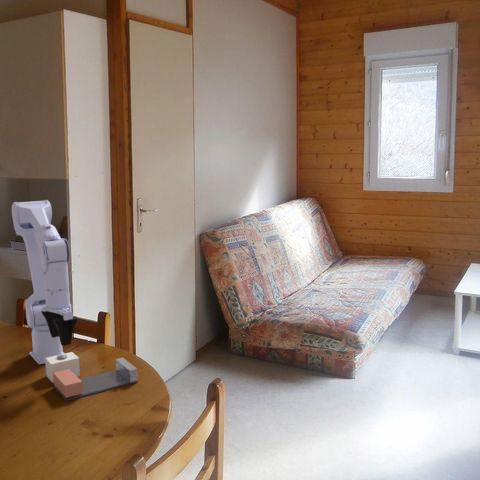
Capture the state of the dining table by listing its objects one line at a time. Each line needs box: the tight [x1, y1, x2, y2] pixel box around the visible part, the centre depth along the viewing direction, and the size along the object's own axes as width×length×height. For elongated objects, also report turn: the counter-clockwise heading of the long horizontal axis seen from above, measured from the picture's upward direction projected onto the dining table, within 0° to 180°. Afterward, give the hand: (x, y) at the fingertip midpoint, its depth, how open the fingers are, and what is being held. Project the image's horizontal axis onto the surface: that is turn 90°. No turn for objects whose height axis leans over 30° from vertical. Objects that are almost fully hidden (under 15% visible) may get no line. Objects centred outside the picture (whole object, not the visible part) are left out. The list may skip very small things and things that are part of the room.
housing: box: [45, 351, 81, 384], centre depth 149 cm, size 5×7×5 cm
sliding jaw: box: [53, 369, 83, 398], centre depth 140 cm, size 9×4×3 cm, turn 34°
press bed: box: [53, 357, 139, 402], centre depth 144 cm, size 9×18×4 cm, turn 124°
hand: (60, 340), depth 148 cm, fingers open, 7 cm apart
